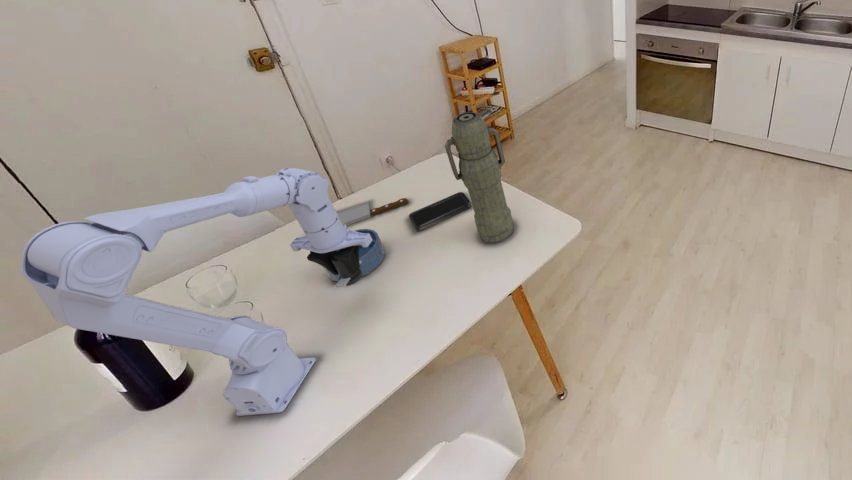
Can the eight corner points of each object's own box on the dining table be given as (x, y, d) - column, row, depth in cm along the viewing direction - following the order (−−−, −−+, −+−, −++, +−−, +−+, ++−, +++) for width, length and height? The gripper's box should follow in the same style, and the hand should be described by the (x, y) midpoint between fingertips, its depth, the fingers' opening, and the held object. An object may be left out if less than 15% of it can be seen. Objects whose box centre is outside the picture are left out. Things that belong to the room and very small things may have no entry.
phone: (471, 203, 116) (415, 229, 108) (472, 206, 117) (416, 232, 109) (461, 190, 122) (407, 214, 113) (462, 193, 122) (409, 217, 114)
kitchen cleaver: (404, 187, 124) (408, 204, 117) (405, 190, 125) (409, 206, 117) (308, 220, 113) (305, 240, 106) (309, 223, 114) (307, 243, 106)
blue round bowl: (370, 281, 95) (362, 265, 92) (317, 285, 95) (307, 268, 92) (394, 243, 106) (387, 227, 103) (347, 246, 105) (338, 230, 102)
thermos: (525, 229, 109) (499, 115, 91) (481, 252, 102) (445, 133, 85) (511, 212, 115) (484, 102, 97) (469, 232, 108) (433, 118, 91)
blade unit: (352, 290, 84) (339, 267, 81) (333, 291, 84) (319, 268, 81) (369, 265, 90) (357, 242, 86) (350, 266, 90) (338, 243, 86)
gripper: (369, 206, 83) (391, 253, 89) (296, 210, 82) (324, 257, 89) (350, 231, 77) (375, 280, 83) (271, 236, 76) (302, 284, 83)
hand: (347, 270), depth 86 cm, fingers closed on blade unit, 3 cm apart
